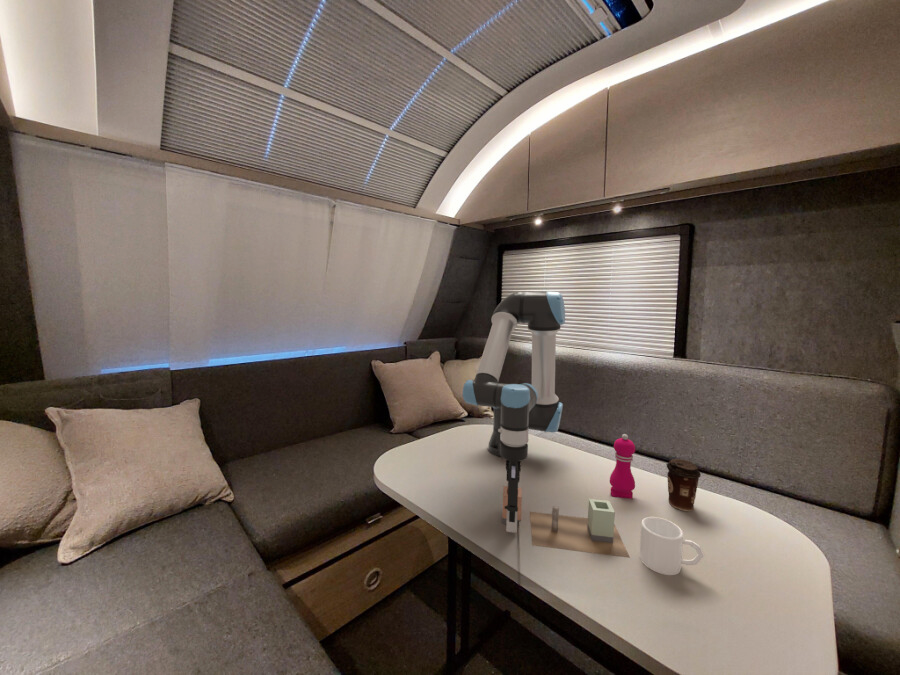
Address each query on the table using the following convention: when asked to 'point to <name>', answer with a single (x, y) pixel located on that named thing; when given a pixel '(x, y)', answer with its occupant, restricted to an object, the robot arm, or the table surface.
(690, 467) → the coffee cup
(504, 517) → the terracotta sleeve
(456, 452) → the table surface
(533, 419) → the robot arm
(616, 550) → the pin board
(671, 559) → the mug
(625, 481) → the pepper mill
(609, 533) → the sage sleeve
